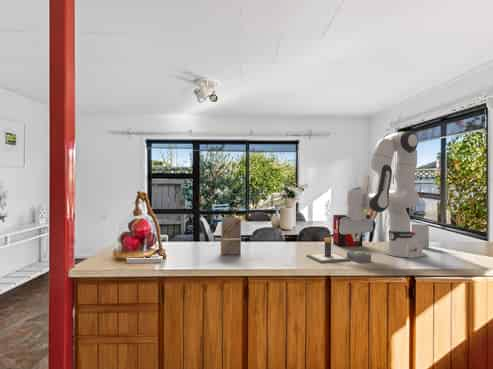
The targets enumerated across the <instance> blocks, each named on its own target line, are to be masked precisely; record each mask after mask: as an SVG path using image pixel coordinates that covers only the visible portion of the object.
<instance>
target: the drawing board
mask: <svg viewBox="0 0 493 369" xmlns="http://www.w3.org/2000/svg"><path fill="white" fill-rule="evenodd" d="M306 257H307V258H309V259H311V260H313V261H315V262H318V263H320V264H326V263H327V264H328V263H339V262H341V263H342V262H351V260H350V259H349V258H347V256H344V255H341V254H338V253H335V252H331V257H325V253H316V254H315V253H314V254H306Z"/></svg>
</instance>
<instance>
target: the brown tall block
mask: <svg viewBox="0 0 493 369" xmlns="http://www.w3.org/2000/svg"><path fill="white" fill-rule="evenodd" d="M233 215H234V216H233V217H221V221H220V222H221V224H220V225H221V227H220V229H221V230H220V231H221V233H220V234H221V235H220V255H221V256H223V255H239V256H241V255H242V254H241V253H242V252H241V251H242V218H241V217H236V212H235V211H234V213H233Z"/></svg>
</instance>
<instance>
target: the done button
mask: <svg viewBox="0 0 493 369" xmlns="http://www.w3.org/2000/svg"><path fill="white" fill-rule="evenodd" d="M353 252H354V254H356V255H362V254H363V252H364V251H362V252H357V251H353Z"/></svg>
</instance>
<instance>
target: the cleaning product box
mask: <svg viewBox="0 0 493 369" xmlns="http://www.w3.org/2000/svg"><path fill="white" fill-rule="evenodd" d="M332 217H333V218H332V220H333V221H332V222H333V224H332V225H333V227H332V228H333V229H332V233H333V234H332V236H333V237H332V240H333V241H332V244H333V246H336V247H338V248H344V247H363V233H361V236H360V238H359V239H360V240H359V241H353V237H352V235H351V234H340V232H339V226H340V219H341V218H342V217H348V214H333V216H332ZM357 235H358V234H357V233H356V235H355V237H357Z"/></svg>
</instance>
